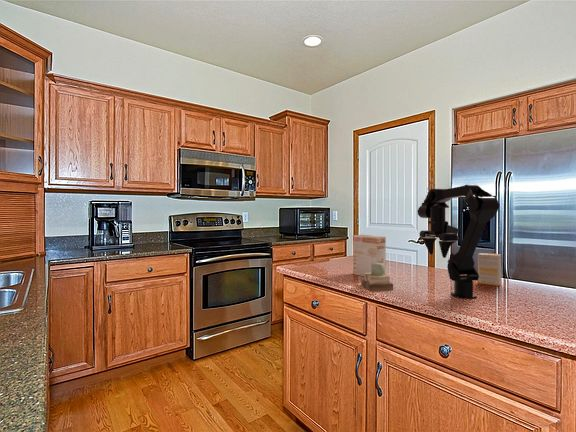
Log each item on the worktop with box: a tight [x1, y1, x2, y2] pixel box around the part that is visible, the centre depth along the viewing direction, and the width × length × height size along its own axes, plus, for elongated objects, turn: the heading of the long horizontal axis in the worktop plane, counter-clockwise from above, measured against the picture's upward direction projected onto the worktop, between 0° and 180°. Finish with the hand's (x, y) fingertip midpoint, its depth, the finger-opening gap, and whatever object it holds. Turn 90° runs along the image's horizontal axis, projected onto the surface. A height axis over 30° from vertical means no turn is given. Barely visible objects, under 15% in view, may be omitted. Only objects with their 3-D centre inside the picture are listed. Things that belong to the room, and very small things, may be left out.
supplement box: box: [477, 252, 502, 287], centre depth 144 cm, size 8×5×13 cm, turn 47°
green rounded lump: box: [371, 263, 384, 276], centre depth 140 cm, size 5×5×4 cm
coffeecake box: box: [352, 234, 387, 277], centre depth 163 cm, size 15×7×20 cm, turn 35°
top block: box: [363, 273, 391, 284], centre depth 140 cm, size 8×8×3 cm
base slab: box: [360, 278, 394, 292], centre depth 141 cm, size 10×10×3 cm
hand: (437, 256), depth 140 cm, fingers open, 9 cm apart
